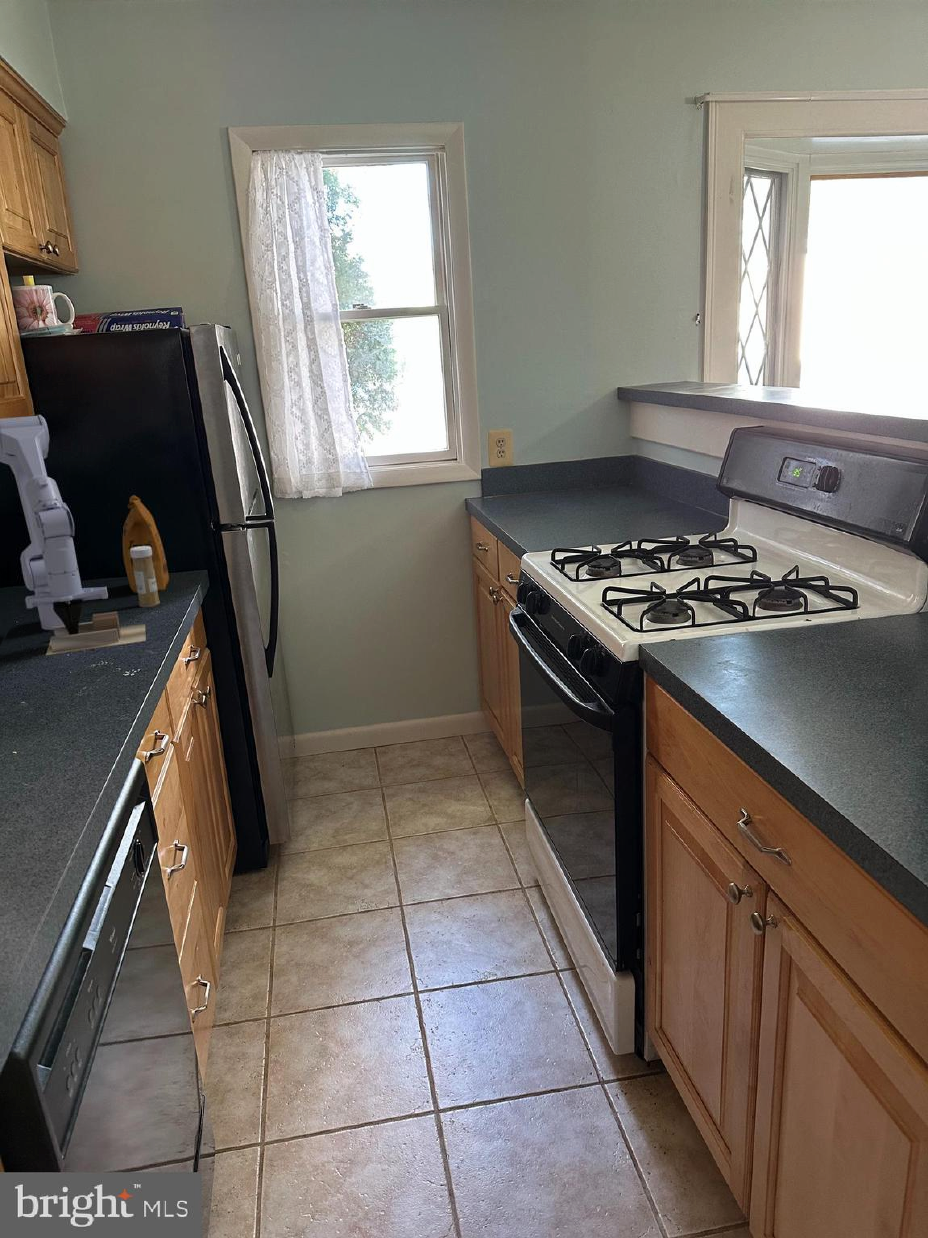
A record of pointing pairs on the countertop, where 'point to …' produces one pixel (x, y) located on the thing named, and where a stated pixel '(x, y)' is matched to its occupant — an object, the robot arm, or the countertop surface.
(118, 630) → the walnut block
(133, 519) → the coffee package
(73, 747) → the countertop surface
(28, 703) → the countertop surface
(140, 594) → the sprinkles bottle
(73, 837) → the countertop surface
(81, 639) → the frame
